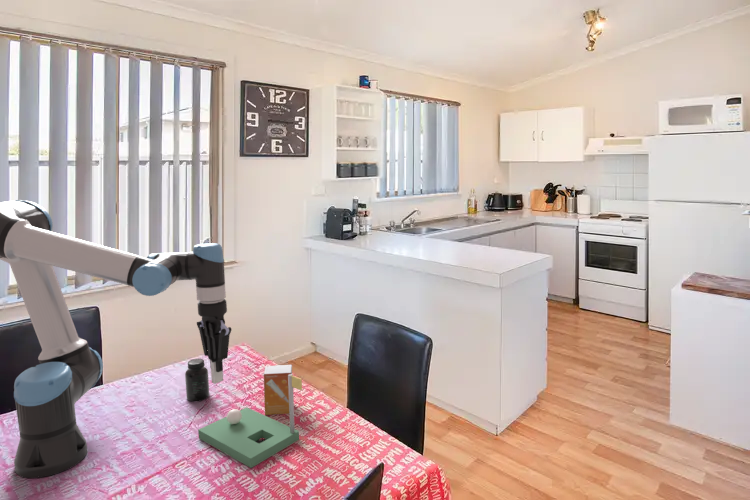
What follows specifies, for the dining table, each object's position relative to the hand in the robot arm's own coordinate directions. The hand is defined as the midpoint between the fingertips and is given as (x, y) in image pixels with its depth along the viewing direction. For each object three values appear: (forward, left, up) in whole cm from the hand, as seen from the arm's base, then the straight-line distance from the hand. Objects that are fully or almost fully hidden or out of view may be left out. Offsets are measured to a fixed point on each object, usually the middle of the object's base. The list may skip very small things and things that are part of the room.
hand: (217, 381), depth 138 cm
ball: (+7, 0, -8) cm, 11 cm away
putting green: (+15, 0, -13) cm, 19 cm away
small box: (+7, +16, -13) cm, 22 cm away
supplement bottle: (-20, +6, -13) cm, 24 cm away
